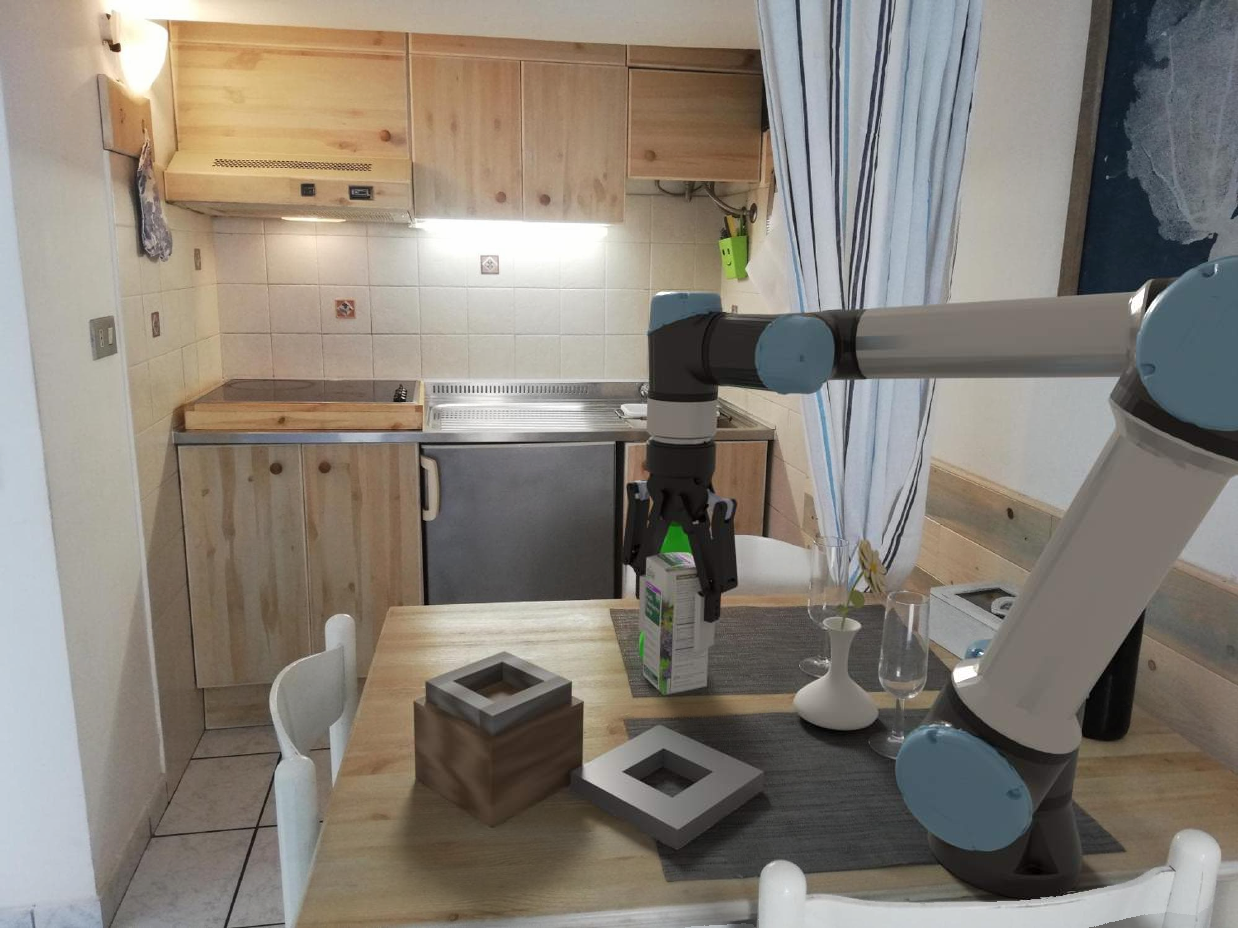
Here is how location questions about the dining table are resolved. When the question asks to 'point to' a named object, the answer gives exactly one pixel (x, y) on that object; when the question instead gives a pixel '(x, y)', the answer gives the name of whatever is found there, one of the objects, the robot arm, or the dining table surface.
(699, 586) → the syrup box
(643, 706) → the dining table surface
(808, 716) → the flower in vase
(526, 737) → the raised socket
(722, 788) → the low socket block
